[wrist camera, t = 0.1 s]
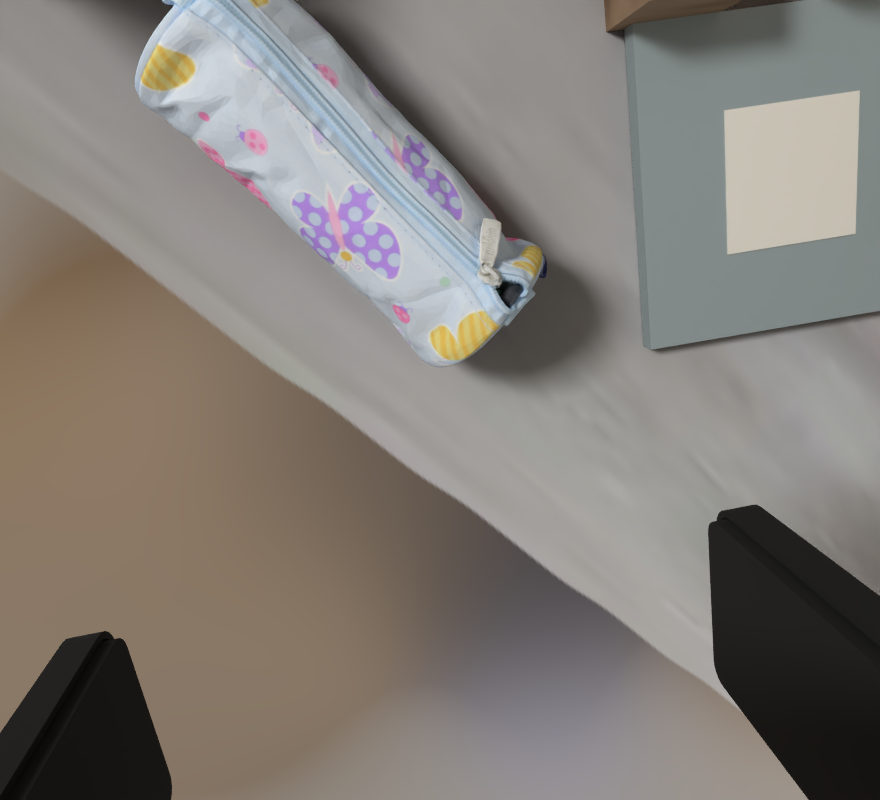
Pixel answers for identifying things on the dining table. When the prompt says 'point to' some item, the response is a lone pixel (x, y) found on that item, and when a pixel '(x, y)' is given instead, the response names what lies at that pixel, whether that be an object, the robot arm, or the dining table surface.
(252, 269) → the dining table surface
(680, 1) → the walnut block
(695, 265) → the board
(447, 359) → the pencil case
